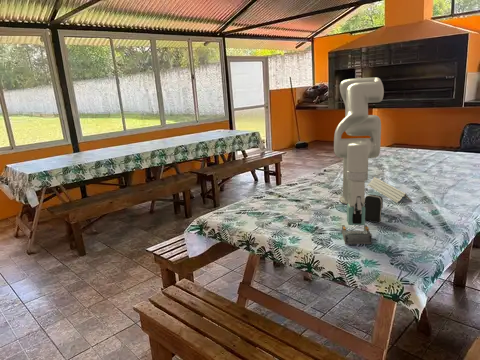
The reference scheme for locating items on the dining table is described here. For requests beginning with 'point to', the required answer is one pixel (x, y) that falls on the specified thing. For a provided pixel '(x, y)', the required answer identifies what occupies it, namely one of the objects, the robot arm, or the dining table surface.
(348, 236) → the tray
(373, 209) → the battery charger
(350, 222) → the block
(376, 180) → the corner bead
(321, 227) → the dining table surface
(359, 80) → the robot arm
